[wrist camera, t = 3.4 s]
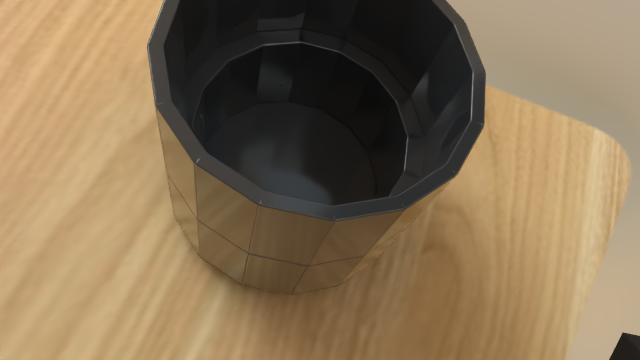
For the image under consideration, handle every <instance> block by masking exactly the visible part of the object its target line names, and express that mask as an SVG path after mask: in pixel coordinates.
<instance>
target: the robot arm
mask: <svg viewBox="0 0 640 360" xmlns="http://www.w3.org/2000/svg"><path fill="white" fill-rule="evenodd" d="M609 360H640V336H637V335H632V334H627V333H622V335H621V337H620V339H619V341H618V343H617V345H616V348H615V349H614V351H613V353H612V355H611V357H610V359H609Z"/></svg>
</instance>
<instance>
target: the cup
mask: <svg viewBox="0 0 640 360" xmlns="http://www.w3.org/2000/svg"><path fill="white" fill-rule="evenodd" d="M147 50H148V58H149V65H150V72H151V80H152V87H153V94H154V101H155V108H156V114H157V119H158V125H159V131H160V137H161V143H162V148H163V154H164V160H165V166H166V171H167V177H168V183H169V189H170V195H171V200H172V206H173V212H174V216H175V219H176V220H177V222H178V223H179V225H180V226H181V228H182V229H183V231H184V233H185V234H186V236H187V237H188V239H189V240H190V242H191V243H192V245H193V247H194V248H195V250H196V251H197V253H198V254H199V256H201V258H202V259H204V260H205V261H207V262H208V263H210V264H211V265H213V266H214V267H216V268H217V269H219V270H220V271H222V272H223V273H225V274H226V275H228V276H229V277H231V278H232V279H234V280H235V281H237V282H238V283H240V284H243V285H246V286H251V287H256V288H261V289H266V290H271V291H276V292H281V293H286V294H297V293H302V292H308V291H313V290H318V289H323V288H328V287H333V286H338V285H339V284H341V283H343V282H344V281H346V280H347V279H348V278H350V277H351V276H353V275H354V274H356V273H357V272H359V271H360V270H361V269H363V268H364V267H366V266H367V265H369V264H370V263H371V262H373V261H374V260H375V259H377V257H378V256H379V255H380V254H381V253H382V252H383V251H384V250H385V249H386V248H387V247H388V246H389V245H390V244H391V243H392V242H393V241H394V240H395V239H396V238H397V237H398V236H399V235H400V234H401V233H402V232H403V231H404V230H405V228H406V227H407V226H408V225H409V224H410V223H411V222H412V221H413V220H414V219H415V218H416V217H417V216H418V215H419V214H420V213H421V212H422V211H423V210H424V209H425V208H426V207H427V206H428V205H429V204H430V203H431V201H432V200H433V199H434V198H435V197H436V196H437V195H438V194H439V193H440V192H441V191H442V190H443V189H444V188H445V187H446V186H447V185H448V184H449V183H450V182H451V181H452V180H453V179H454V178H455V177H456V175H457V174H458V173H459V171H460V169H461V167H462V166H463V164H464V162H465V160H466V158H467V157H468V155H469V153H470V151H471V149H472V148H473V146H474V144H475V142H476V140H477V139H478V137H479V135H480V133H481V131H482V130H483V127H484V118H485V83H486V82H485V81H486V73H485V69H484V67H483V64H482V62H481V59H480V57H479V54H478V52H477V50H476V47H475V45H474V42H473V40H472V37H471V35H470V32H469V30H468V27H467V25H466V23H465V22H464V20H463V19H462V18H461V17H460V15H459V14H458V13H457V12H456V11H455V10H454V9H453V8H452V7H451V5H450V4H449V3H448V2H447V1H446V0H164V1H163V4H162V7H161V9H160V12H159V15H158V17H157V20H156V23H155V25H154V28H153V30H152V33H151V36H150V38H149V41H148V45H147Z"/></svg>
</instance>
